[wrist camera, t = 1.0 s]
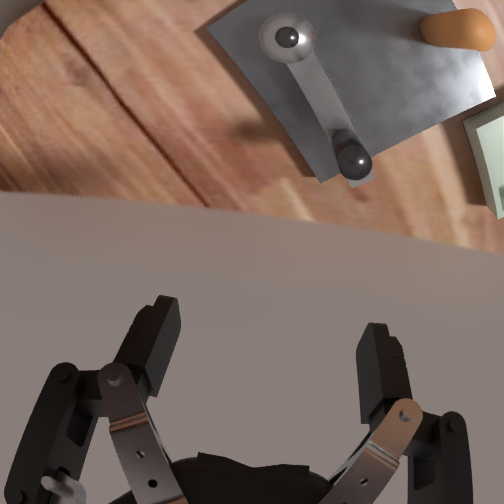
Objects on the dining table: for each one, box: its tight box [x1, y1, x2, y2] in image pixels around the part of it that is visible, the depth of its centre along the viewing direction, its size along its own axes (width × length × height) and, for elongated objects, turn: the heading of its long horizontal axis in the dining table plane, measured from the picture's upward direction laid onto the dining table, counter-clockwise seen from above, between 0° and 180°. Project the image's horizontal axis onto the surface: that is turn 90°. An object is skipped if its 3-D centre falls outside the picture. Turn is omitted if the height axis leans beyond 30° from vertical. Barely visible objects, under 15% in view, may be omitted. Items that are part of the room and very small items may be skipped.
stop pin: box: [420, 8, 495, 51], centre depth 15 cm, size 3×3×8 cm
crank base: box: [206, 0, 496, 183], centre depth 21 cm, size 18×21×2 cm
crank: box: [258, 12, 375, 188], centre depth 21 cm, size 16×4×7 cm, turn 31°
